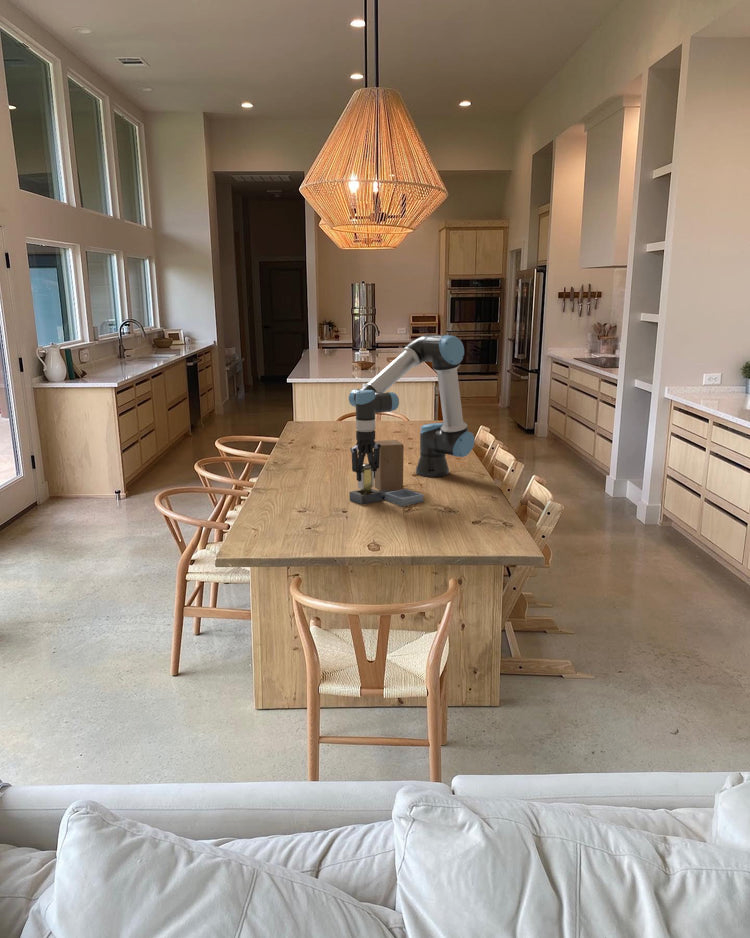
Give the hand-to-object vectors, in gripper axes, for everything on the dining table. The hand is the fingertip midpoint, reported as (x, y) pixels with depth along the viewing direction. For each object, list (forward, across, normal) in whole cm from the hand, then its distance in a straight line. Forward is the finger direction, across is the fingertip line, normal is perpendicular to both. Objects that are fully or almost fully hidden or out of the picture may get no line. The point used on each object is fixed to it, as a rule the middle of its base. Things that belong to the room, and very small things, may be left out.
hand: (366, 487), depth 293 cm
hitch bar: (+6, -4, 0) cm, 7 cm away
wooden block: (+6, -19, -9) cm, 22 cm away
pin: (+4, 0, 0) cm, 4 cm away
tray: (+6, -12, +10) cm, 16 cm away
